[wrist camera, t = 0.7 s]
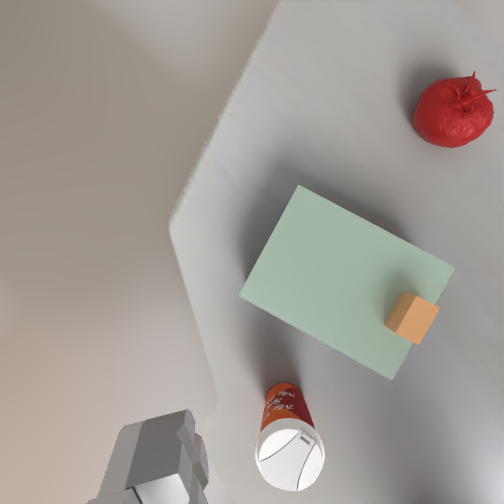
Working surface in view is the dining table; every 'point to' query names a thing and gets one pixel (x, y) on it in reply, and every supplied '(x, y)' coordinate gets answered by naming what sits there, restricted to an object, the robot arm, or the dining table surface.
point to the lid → (347, 282)
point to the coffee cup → (288, 441)
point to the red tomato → (453, 112)
